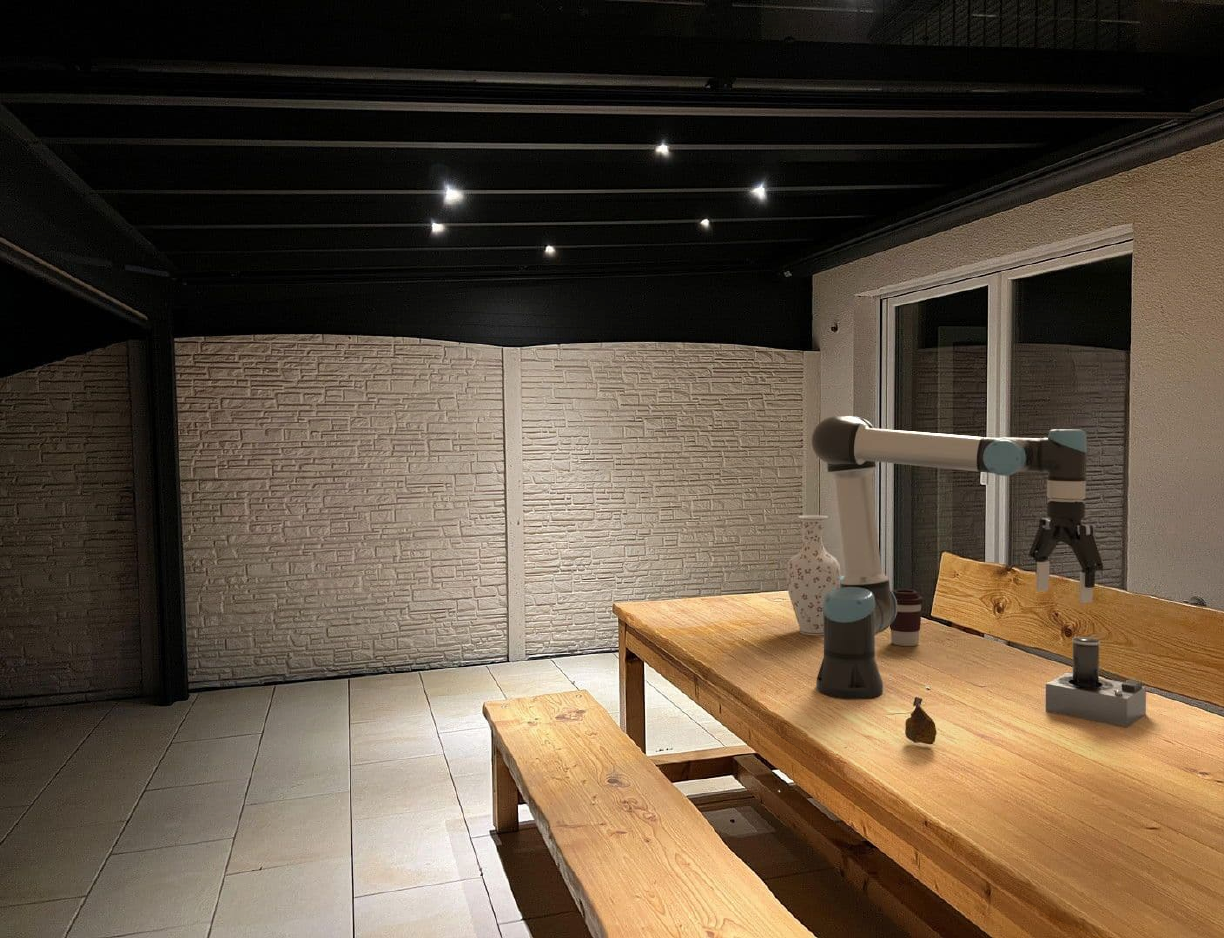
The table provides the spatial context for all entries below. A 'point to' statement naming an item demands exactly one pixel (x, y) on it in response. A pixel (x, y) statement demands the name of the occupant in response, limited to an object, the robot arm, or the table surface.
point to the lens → (1086, 661)
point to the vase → (812, 577)
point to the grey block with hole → (1097, 700)
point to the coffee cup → (906, 618)
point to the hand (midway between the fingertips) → (1063, 596)
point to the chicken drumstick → (920, 725)
